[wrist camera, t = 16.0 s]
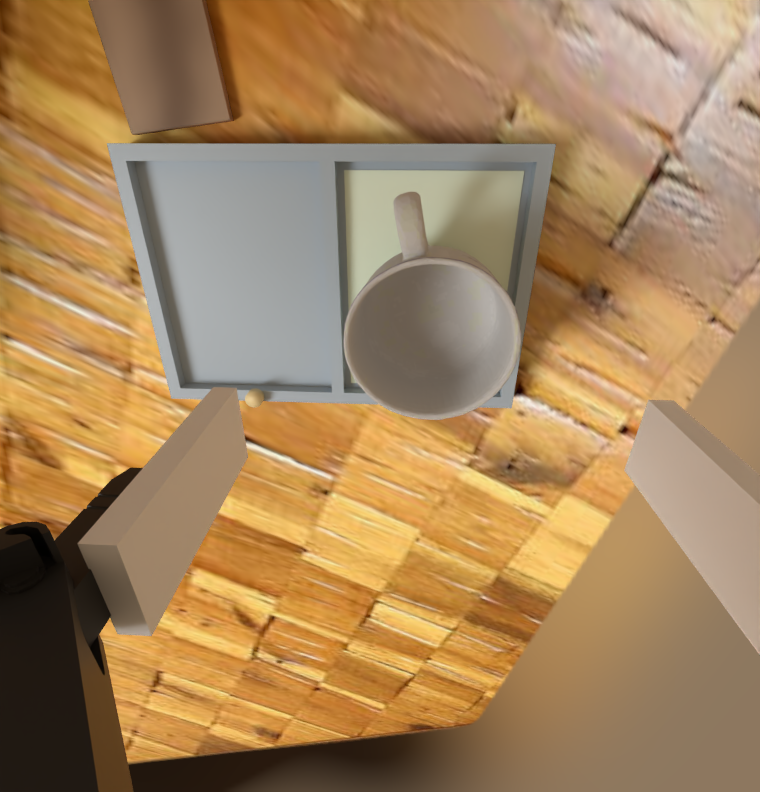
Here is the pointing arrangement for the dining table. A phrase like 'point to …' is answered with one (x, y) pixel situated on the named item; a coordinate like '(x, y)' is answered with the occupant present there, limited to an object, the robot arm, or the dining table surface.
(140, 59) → the walnut coaster
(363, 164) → the grey divided tray
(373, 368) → the teacup
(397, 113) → the dining table surface
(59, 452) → the dining table surface
